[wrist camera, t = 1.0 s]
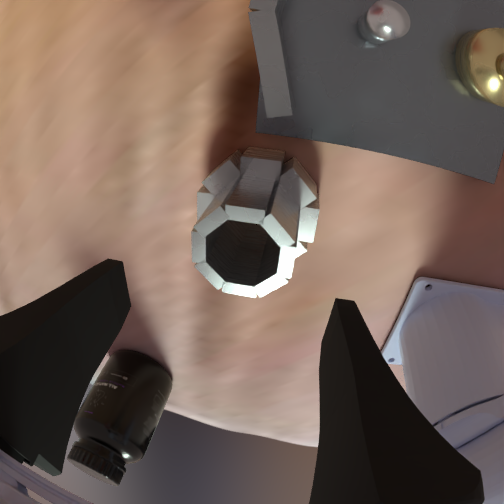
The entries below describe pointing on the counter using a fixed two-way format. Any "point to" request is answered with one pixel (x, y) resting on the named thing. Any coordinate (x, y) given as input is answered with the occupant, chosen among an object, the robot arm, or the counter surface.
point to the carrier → (386, 77)
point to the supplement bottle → (119, 415)
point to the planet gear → (253, 221)
